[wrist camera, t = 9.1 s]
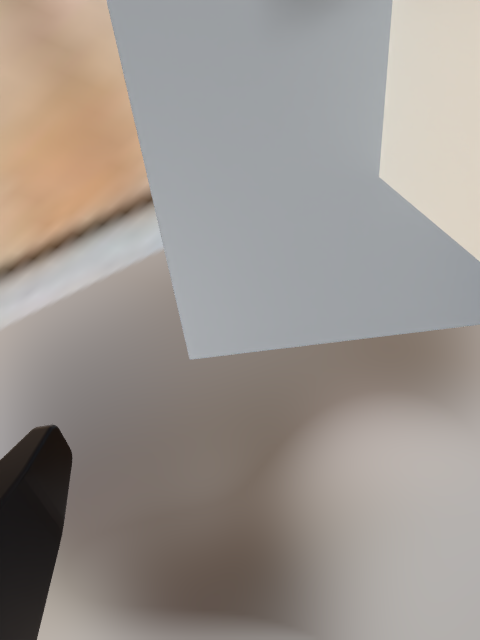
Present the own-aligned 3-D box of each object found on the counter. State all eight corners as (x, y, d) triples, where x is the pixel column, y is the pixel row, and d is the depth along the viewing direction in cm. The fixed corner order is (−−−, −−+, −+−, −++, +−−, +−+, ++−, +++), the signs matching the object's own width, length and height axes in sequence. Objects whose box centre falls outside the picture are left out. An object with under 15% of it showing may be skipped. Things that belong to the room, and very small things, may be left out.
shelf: (192, 330, 23) (186, 402, 19) (89, -141, 13) (22, -238, 9) (491, 294, 23) (561, 358, 18) (619, -220, 13) (843, -365, 8)
